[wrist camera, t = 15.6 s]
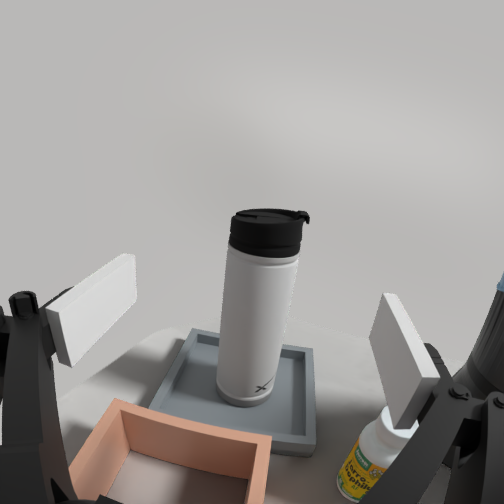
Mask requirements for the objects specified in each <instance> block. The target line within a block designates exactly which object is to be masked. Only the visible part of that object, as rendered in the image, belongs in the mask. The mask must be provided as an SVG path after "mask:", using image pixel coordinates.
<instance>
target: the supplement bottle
mask: <svg viewBox="0 0 504 504" xmlns="http://www.w3.org/2000/svg"><path fill="white" fill-rule="evenodd" d="M418 426H419V424H418V421H417V420H416V421H415V423H414V425H413V426H412V428H411V429H402V430H394V429H393V425H392V421H391V417H390V413H389V409H388V405H387V406H386V407H384V408H383V410H382V411H381V413H380V415H379V416H378V418H377V419H376V420H374V421H372V422H370V423H369V424H368V425H367V426H366V427H365V428H364V429H363V431H362V432H361V434H360V436H359V438H358V440H357V441H356V443H355V445H354V447H353V448H352V450H351V452H350V454H349V455H348V457H347V459H346V460H345V462H344V464H343V465H342V467H341V469H340V470H339V472H338V475H337V486H338V489H339V491H340V493H341V494H342V495H343V496H344V497H345V498H347V499H349V500H350V501H353V502H356V503H358V502H359V501H360V500H361V499H362V498H363V497H364V495H365V494H366V493H367V492H368V491H369V490H370V489H371V488H372V486H373V485H374V484H375V483H376V482H377V481H378V479H379V478H380V477H381V476H382V475H383V473H384V472H385V471H386V470H387V469H388V467H389V466H390V465H391V463H392V462H393V461H394V460H395V458H396V457H397V456H398V454H399V453H400V452H401V450H402V449H403V448H404V446H405V445H406V444H407V442H408V441H409V439H410V438H411V437H412V435H413V434H414V432H415V431H416V429H417V428H418Z"/></svg>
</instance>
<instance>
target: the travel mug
mask: <svg viewBox="0 0 504 504" xmlns="http://www.w3.org/2000/svg"><path fill="white" fill-rule="evenodd" d="M305 221H306V223H307V224H309V221H310V217H309V215H308V213H307V212H305V211H297V212H295V211H291V210H284V209H249V210H243V211H239V212H237V213H236V215H235V216H233V217H232V219H231V227H230V232H231V234H230V237H229V242H228V251H227V260H226V271H225V282H224V293H223V304H222V315H221V326H220V338H219V351H218V364H217V377H216V390H217V392H218V394H219V395H220V396H221V397H222V398H223V399H224V400H225V401H227V402H229V403H230V404H233V405H236V406H240V407H253V406H257V405H260V404H262V403H264V402H265V401H267V400H268V399H269V398H270V396H271V394H272V389H273V385H274V381H275V376H276V372H277V367H278V362H279V358H280V353H281V348H282V344H283V339H284V334H285V329H286V324H287V319H288V314H289V308H290V303H291V299H292V293H293V288H294V283H295V277H296V271H297V266H298V258H299V254H300V242H301V240H302V226H303V222H305Z"/></svg>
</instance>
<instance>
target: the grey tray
mask: <svg viewBox="0 0 504 504" xmlns="http://www.w3.org/2000/svg"><path fill="white" fill-rule="evenodd" d="M219 338H220V334H219V333H214V332H209V331H204V330H199V329H194V328H192V330H191V332H190V333H189V335H188V337H187V339H186V340H185V342H184V344H183V346H182V348H181V349H180V351H179V353H178V355H177V357H176V358H175V360H174V362H173V364H172V366H171V367H170V369H169V371H168V373H167V375H166V376H165V378H164V380H163V382H162V384H161V386H160V387H159V389H158V391H157V393H156V395H155V396H154V398H153V400H152V402H151V404H150V406H149V407H148V409H150V410H153V411H157V412H160V413H164V414H167V415H171V416H175V417H179V418H183V419H187V420H191V421H195V422H199V423H203V424H208V425H212V426H217V427H222V428H227V429H232V430H238V431H243V432H249V433H255V434H262V435H269V436H272V441H271V449H270V453H273V454H281V455H290V456H301V457H311V455H312V453H313V451H314V449H315V447H316V407H315V382H314V362H313V349H312V348H305V347H298V346H291V345H284V344H282V348H281V353H280V358H279V362H278V367H277V372H276V376H275V381H274V385H273V389H272V394H271V396H270V398H269V399H268V400H267V401H265V402H264V403H262V404H260V405H257V406H253V407H240V406H236V405H233V404H230V403H229V402H227V401H225V400H224V399H223V398H222V397H221V396H220V395H219V394H218V392H217V390H216V377H217V364H218V351H219Z"/></svg>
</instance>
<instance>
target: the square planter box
mask: <svg viewBox="0 0 504 504" xmlns="http://www.w3.org/2000/svg"><path fill="white" fill-rule="evenodd" d="M271 441H272V436H269V435H262V434H255V433H249V432H243V431H238V430H232V429H227V428H222V427H217V426H212V425H208V424H203V423H199V422H195V421H191V420H187V419H183V418H179V417H175V416H171V415H167V414H164V413H160V412H157V411H153V410H150V409H147V408H144V407H140V406H137V405H134V404H131V403H128V402H125V401H122V400H119V399H116V398H114V399H113V401H112V402H111V404H110V405H109V407H108V408H107V410H106V411H105V413H104V414H103V416H102V417H101V419H100V420H99V422H98V423H97V425H96V426H95V428H94V429H93V431H92V432H91V434H90V435H89V437H88V438H87V440H86V441H85V443H84V445H83V446H82V448H81V449H80V451H79V452H78V454H77V455H76V457H75V458H74V460H73V461H72V463H71V465H70V466H69V468H68V469H69V473H70V477H71V481H72V485H73V488H74V491H75V493H76V495H77V497H78V499H87V500H95V501H96V500H97V499H98V497H99V495H100V494H101V495H103V496H106V495H107V493H108V491H109V489H110V488H111V486H112V484H113V482H114V480H115V478H116V476H117V474H118V472H119V470H120V468H121V466H122V464H123V463H124V461H125V459H126V457H127V455H128V453H129V451H130V450H133V451H136V452H139V453H142V454H145V455H148V456H151V457H154V458H158V459H161V460H164V461H168V462H171V463H175V464H179V465H182V466H186V467H190V468H194V469H198V470H203V471H207V472H212V473H216V474H221V475H226V476H232V477H237V478H243V479H249V480H248V485H247V491H246V496H245V501H244V504H263V503H264V496H265V488H266V481H267V473H268V465H269V457H270V449H271Z"/></svg>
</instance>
